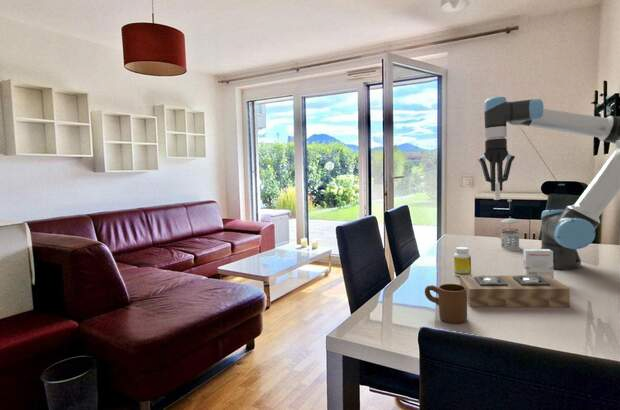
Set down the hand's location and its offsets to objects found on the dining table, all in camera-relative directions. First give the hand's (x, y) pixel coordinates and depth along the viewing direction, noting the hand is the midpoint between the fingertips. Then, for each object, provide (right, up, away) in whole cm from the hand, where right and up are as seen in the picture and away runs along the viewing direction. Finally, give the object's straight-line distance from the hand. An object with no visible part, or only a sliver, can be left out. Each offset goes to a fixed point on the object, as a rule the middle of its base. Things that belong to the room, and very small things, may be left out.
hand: (496, 199), depth 146 cm
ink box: (+10, -30, -11) cm, 34 cm away
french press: (+26, -24, +41) cm, 54 cm away
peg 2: (-3, -32, -27) cm, 42 cm away
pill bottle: (-12, -30, +2) cm, 33 cm away
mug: (-34, -35, -37) cm, 61 cm away
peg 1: (-14, -32, -25) cm, 43 cm away
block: (-8, -33, -26) cm, 42 cm away
